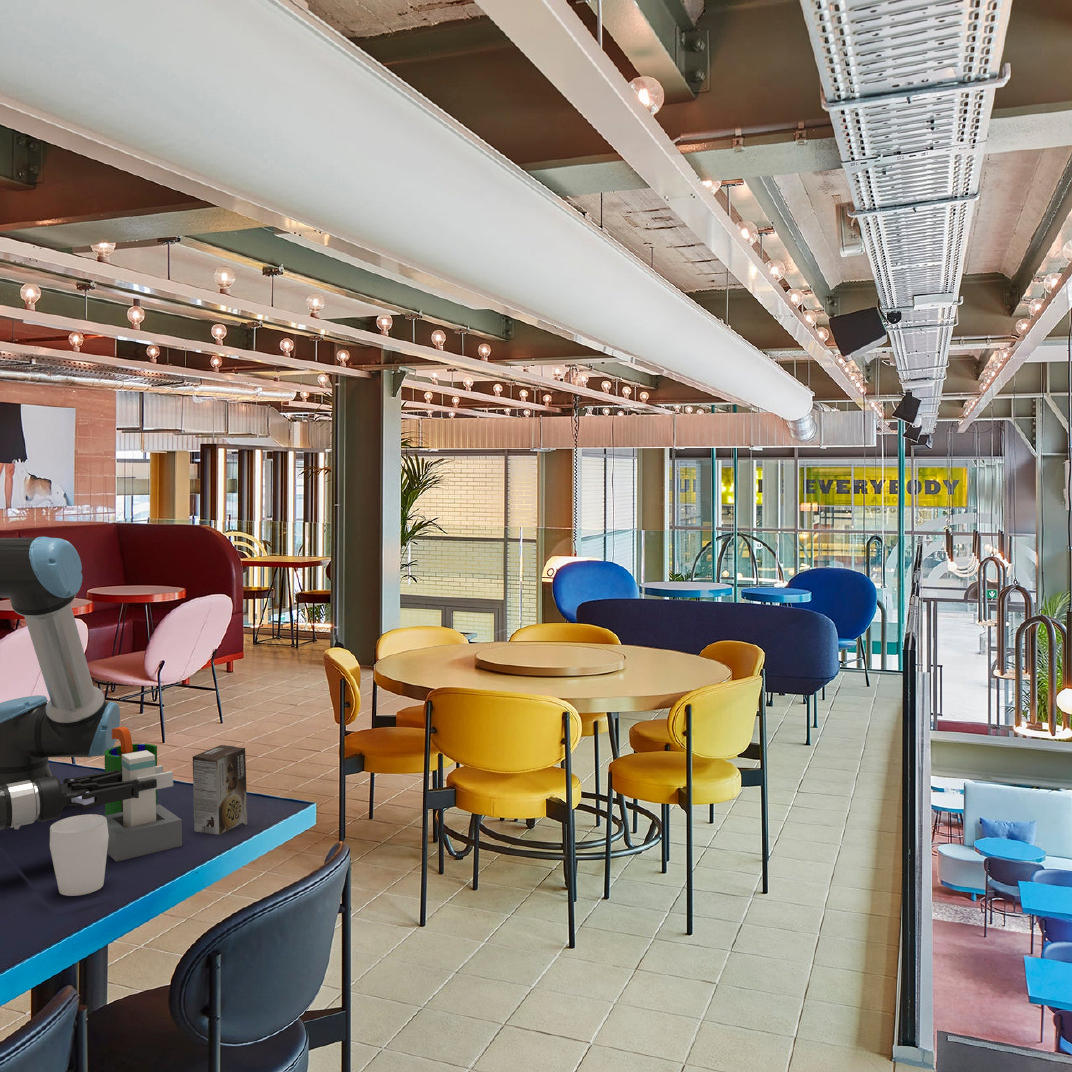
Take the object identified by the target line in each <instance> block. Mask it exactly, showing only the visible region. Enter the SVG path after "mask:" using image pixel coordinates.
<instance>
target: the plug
mask: <svg viewBox="0 0 1072 1072" xmlns="http://www.w3.org/2000/svg"><path fill="white" fill-rule="evenodd" d="M121 762H122V782H124V781H131V780H136V778H138V777H144V776H149V775H154V774H155V755H154V754H152V753H150V752H149V751H147V750H145V751H139V752H134V753H128V754H122V759H121ZM155 821H156V790H151V791H146V792H141V793H139V798H131V799H126V800H123V827H124V828H128V827H133V826H137V825H142V824H146V823H151V822H155Z"/></svg>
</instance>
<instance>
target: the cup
mask: <svg viewBox="0 0 1072 1072" xmlns="http://www.w3.org/2000/svg"><path fill="white" fill-rule="evenodd" d="M104 816H105V815H101V814H91V813H90V814H81V815H74V816H73V815H72V816H69V817H66V818H62V819H60V820H57V821H56V822H53V823H52V824H51V825H50V826H49V850H50V855H51V859H52V860H51V861H52V864H53V868H54V875H55V879H56V883H57V887H58V893H59V894H60V895H63V896H66V897H67V896H68V897H70V896H71V897H72V896H73V897H74V896H83V895H87V894H91V893H93V892H96V891H99V890H101V888H103V886H104V882H105V874H106V864H107V856H108V854H107V848H108V838H109V835H108V827H107V819H106V817H104Z"/></svg>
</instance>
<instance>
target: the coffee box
mask: <svg viewBox="0 0 1072 1072" xmlns="http://www.w3.org/2000/svg"><path fill="white" fill-rule="evenodd" d="M246 760H247V759H246V747H238V746H235V745H225V744H221V745H218V746H215V747H213V748H210V749H208V750H204V751H202V752H200V753H198V754H195V755H192V783H193V784H192V786H193V787H192V788H193V789H192V790H193V826H194V828H193V829H194V832H198V833H204V834H209V835H210V834H211V835H212V834H213V835H222V834H224V833H227V832H228V831H230V830H232V829H233V828H236V827H238V826H239V825H241V824H244V825H245V826H247V825H248V799H247V797H248V796H247V794H248V793H247V773H246V772H247V769H246V768H247V765H246V764H247V763H246Z"/></svg>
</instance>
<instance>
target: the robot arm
mask: <svg viewBox="0 0 1072 1072" xmlns="http://www.w3.org/2000/svg"><path fill="white" fill-rule="evenodd" d="M82 570H83V566H82V561H81V557H80V555H79V553H78V551H77V549H76V548H75V546H74V545H73V544H72V543H71V542H70V541H68V540H65V539H64V538H59V537H48V536H38V537H0V599H1V598H4V599H5V598H8V599H9V602H10V604H11V607H12V610H13V611H14V612H15V613H16V614H18V615H20V616H22V617H24V620H25V623H26V627H27V630H28V633H29V635H30V639H31V643H32V645H33V648H34V653H35V655H36V658H37V662H38V665H39V668H40V671H41V675H42V678H43V681H44V684H45V689H46V691H47V694H48V697H49V700H48V699H47V696H45V695H29V696H24V697H23V696H22V697H19V698H17V697H16V698H13V699H9V700H6V701H1V702H0V830H6V829H10V828H11V829H12V828H14V830H19V829H20V828H21V826H25V825H30V824H33V823H35V821H37V822H39V823H41V822H47V821H50V820H51V821H53V820H56V819H59V818H60V817H61V816H62V814H63V809H64V808H65V807H72V808H79V807H81V809H83V810H88V809H90V808H94V807H97V806H101V805H102V806H103V805H105V804H107V803H111V802H116V801H121V800H126V799H131V798H139V793H141V792H146V791H151V790H156V789H157V790H160V789H167V788H170V787H174V772H173V771H172V770H171V771H170V770H169V771H166V772H164V765H157V766H155V774H154V775H149V776H144V777H138V778H136V780H131V781H124V782H122V768H121V772H119V770H115V771H109V772H105V771H103V772H99V773H93V774H88V775H83V776H77V777H76V776H75V777H65V778H64V779H62V783H61V781H60V779H59V778H58V776H55V775H53V774H52V772H51V769H50V767H49V765H50V764H49V758H92V757H103V756H104V757H105V751H106V750H108V749H110V748H113V747H115V744H116V741H117V739H112V729H114V728H118V727H120V724H121V723H120V722H121V710H120V705H119V704H118V703H117V702H114V701H106V698H105V694H104V692H103V691H102V690H101V688H99V687H97V686H94V684H93V680H92V676H91V673H90V669H89V665H88V661H87V658H86V655H85V651H84V647H83V643H82V640H81V636H80V634H79V633H80V632H79V630H78V626H77V622H76V618H75V615H74V612H73V609H72V608H73V607H72V605H71V604H72V603H73V602H74V600H75V599H76V596H77V594H78V593H79V592H80V590H81V586H82V583H83V573H82Z"/></svg>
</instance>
